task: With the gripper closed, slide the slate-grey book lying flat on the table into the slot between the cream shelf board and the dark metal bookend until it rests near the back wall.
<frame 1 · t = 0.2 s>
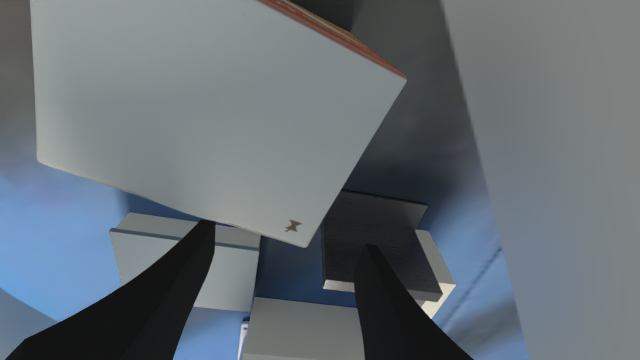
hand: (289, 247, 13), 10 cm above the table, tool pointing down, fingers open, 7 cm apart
book: (199, 252, 28), on the table
shelf nook: (326, 272, 29), on the table
bookend: (367, 225, 26), on the table
small box: (274, 51, 18), on the table
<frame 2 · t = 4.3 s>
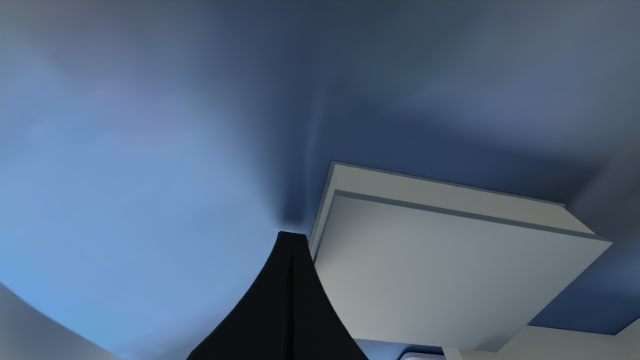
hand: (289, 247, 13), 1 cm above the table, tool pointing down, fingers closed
book: (415, 246, 16), on the table
shelf nook: (590, 275, 17), on the table
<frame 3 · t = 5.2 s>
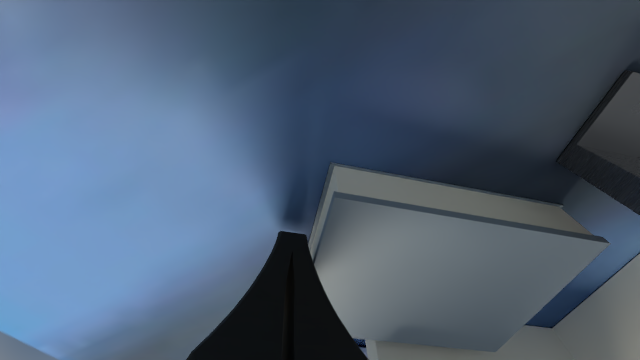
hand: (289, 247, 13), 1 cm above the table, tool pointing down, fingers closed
book: (414, 246, 16), on the table, touching gripper
shelf nook: (512, 264, 16), on the table
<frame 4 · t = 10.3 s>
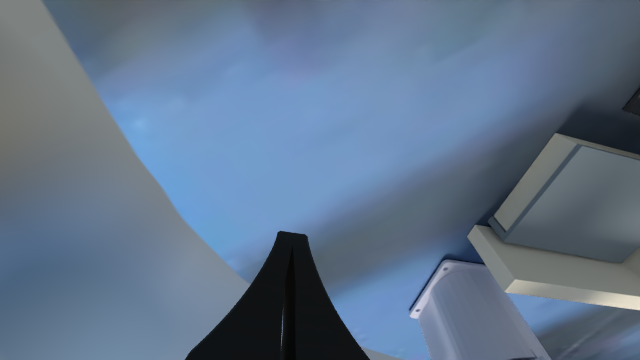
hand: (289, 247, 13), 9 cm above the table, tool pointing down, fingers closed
book: (573, 191, 24), on the table
shelf nook: (582, 188, 24), on the table
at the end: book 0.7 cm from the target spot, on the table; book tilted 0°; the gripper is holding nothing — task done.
